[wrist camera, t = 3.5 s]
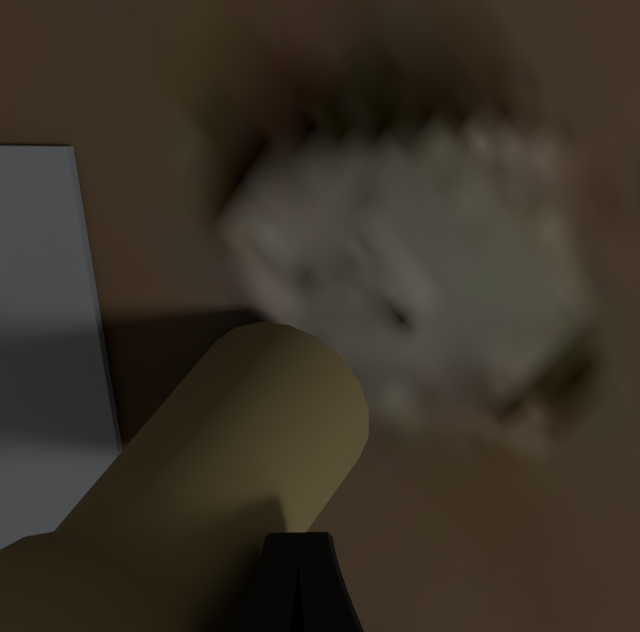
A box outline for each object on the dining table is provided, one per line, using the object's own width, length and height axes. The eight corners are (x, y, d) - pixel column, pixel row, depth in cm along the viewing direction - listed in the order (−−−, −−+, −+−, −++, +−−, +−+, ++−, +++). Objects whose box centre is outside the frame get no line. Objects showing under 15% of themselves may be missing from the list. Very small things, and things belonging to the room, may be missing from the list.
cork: (287, 508, 18) (35, 948, 9) (170, 387, 18) (-217, 705, 9) (410, 430, 15) (228, 970, 6) (271, 283, 15) (-152, 597, 6)
